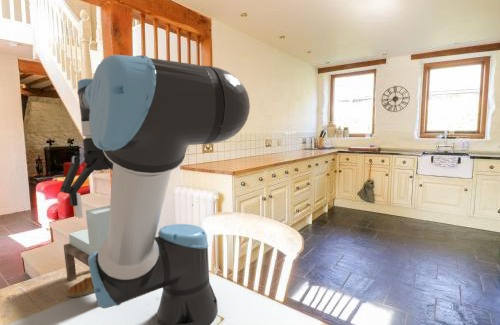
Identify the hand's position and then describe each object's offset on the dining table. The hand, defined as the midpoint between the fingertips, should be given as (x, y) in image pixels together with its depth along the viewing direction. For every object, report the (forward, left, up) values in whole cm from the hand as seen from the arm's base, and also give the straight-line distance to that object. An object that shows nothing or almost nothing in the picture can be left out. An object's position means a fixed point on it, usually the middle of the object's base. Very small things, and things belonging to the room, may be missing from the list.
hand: (105, 210), depth 78 cm
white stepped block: (+8, 0, -13) cm, 16 cm away
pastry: (+8, +4, -26) cm, 27 cm away
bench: (+9, 0, -25) cm, 27 cm away
